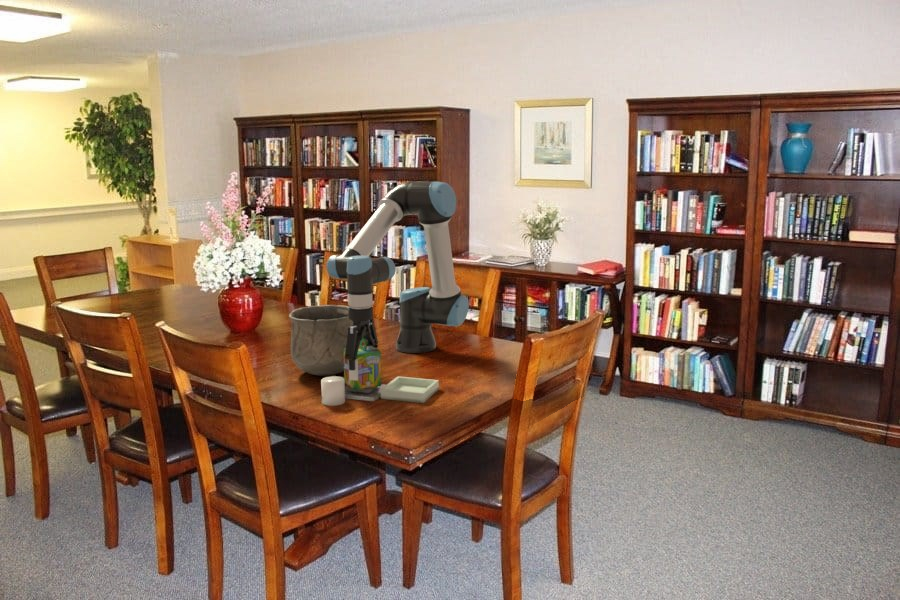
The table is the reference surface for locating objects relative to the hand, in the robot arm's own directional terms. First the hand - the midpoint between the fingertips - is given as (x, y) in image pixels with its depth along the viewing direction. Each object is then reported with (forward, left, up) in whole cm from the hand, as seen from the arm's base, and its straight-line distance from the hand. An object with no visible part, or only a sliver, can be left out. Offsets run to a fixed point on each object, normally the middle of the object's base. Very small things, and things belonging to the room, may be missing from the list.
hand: (362, 373), depth 241 cm
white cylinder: (+11, -5, -6) cm, 13 cm away
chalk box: (0, 0, -4) cm, 4 cm away
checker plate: (0, 0, -5) cm, 5 cm away
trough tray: (-3, +14, -6) cm, 16 cm away
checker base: (0, 0, -6) cm, 6 cm away
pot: (-16, -21, -6) cm, 27 cm away
